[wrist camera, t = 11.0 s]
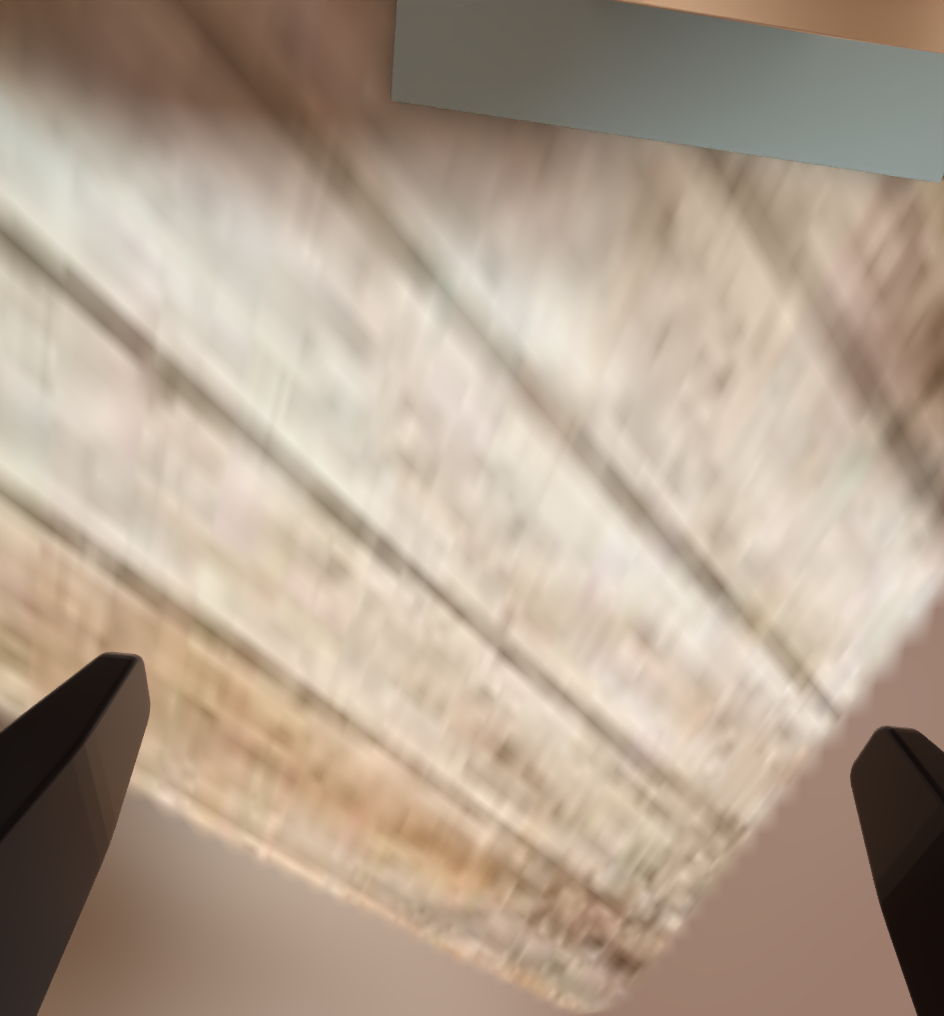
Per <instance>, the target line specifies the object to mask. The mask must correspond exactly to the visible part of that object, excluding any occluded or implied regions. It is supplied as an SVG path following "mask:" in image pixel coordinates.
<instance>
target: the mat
mask: <svg viewBox="0 0 944 1016" xmlns="http://www.w3.org/2000/svg"><path fill="white" fill-rule="evenodd" d="M391 101H394V102H401V103H408V104H415V105H421V106H428V107H435V108H441V109H448V110H455V111H461V112H468V113H475V114H481V115H488V116H495V117H502V118H508V119H515V120H522V121H528V122H535V123H542V124H548V125H555V126H562V127H569V128H575V129H582V130H589V131H595V132H602V133H609V134H615V135H622V136H629V137H635V138H642V139H649V140H656V141H662V142H669V143H676V144H682V145H689V146H696V147H702V148H709V149H716V150H722V151H729V152H736V153H743V154H749V155H756V156H763V157H769V158H776V159H783V160H789V161H796V162H803V163H809V164H816V165H823V166H830V167H836V168H843V169H850V170H856V171H863V172H870V173H876V174H883V175H890V176H896V177H903V178H910V179H917V180H923V181H930V182H937V183H940V182H941V180H942V178H943V175H944V54H942V53H935V52H929V51H922V50H915V49H908V48H902V47H895V46H888V45H881V44H875V43H868V42H861V41H854V40H848V39H841V38H834V37H827V36H820V35H814V34H808V33H802V32H796V31H790V30H784V29H778V28H772V27H766V26H760V25H754V24H748V23H742V22H737V21H731V20H725V19H719V18H713V17H707V16H701V15H695V14H689V13H683V12H677V11H671V10H665V9H659V8H653V7H647V6H641V5H635V4H629V3H624V2H618V1H612V0H397V9H396V25H395V40H394V56H393V72H392V87H391Z"/></svg>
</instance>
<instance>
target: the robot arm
mask: <svg viewBox="0 0 944 1016" xmlns="http://www.w3.org/2000/svg"><path fill="white" fill-rule="evenodd" d="M149 714H150V696H149V690H148V684H147V678H146V671H145V665H144V661H143V659H142V658H141V657H140V656H139V655H136V654H128V653H118V652H106V653H103V654H101V655H99V656H98V657H96V658H95V659H94V660H92V661H91V662H90V663H89V664H87V665H86V666H85V667H83V668H82V669H81V670H79V671H78V672H77V673H76V674H74V675H73V676H72V677H70V678H69V679H68V680H66V681H65V682H64V683H63V684H61V685H60V686H59V687H57V688H56V689H55V690H53V691H52V692H51V693H50V694H48V695H47V696H46V697H44V698H43V699H42V700H40V701H39V702H38V703H37V704H35V705H34V706H33V707H31V708H30V709H29V710H27V711H26V712H25V713H24V714H22V715H21V716H20V717H18V718H17V719H16V720H14V721H13V722H12V723H11V724H9V725H8V726H7V727H5V728H4V729H3V730H2V731H0V1016H37V1013H38V1011H39V1009H40V1007H41V1004H42V1002H43V1000H44V997H45V995H46V993H47V990H48V988H49V986H50V984H51V981H52V979H53V977H54V974H55V972H56V970H57V967H58V965H59V963H60V960H61V958H62V956H63V954H64V951H65V949H66V946H67V944H68V942H69V940H70V937H71V935H72V933H73V930H74V928H75V925H76V923H77V921H78V919H79V916H80V914H81V912H82V910H83V907H84V905H85V903H86V900H87V898H88V896H89V893H90V891H91V889H92V886H93V884H94V881H95V879H96V877H97V875H98V872H99V870H100V868H101V865H102V863H103V860H104V858H105V855H106V853H107V850H108V848H109V845H110V842H111V839H112V836H113V833H114V830H115V827H116V824H117V821H118V817H119V814H120V811H121V808H122V804H123V801H124V798H125V795H126V791H127V788H128V785H129V782H130V778H131V775H132V772H133V769H134V765H135V762H136V759H137V756H138V752H139V749H140V746H141V742H142V739H143V736H144V733H145V729H146V726H147V723H148V719H149ZM850 780H851V787H852V792H853V795H854V800H855V804H856V809H857V813H858V817H859V821H860V825H861V830H862V834H863V838H864V842H865V847H866V851H867V855H868V859H869V864H870V868H871V872H872V876H873V880H874V885H875V888H876V892H877V896H878V900H879V903H880V906H881V910H882V913H883V916H884V919H885V922H886V926H887V929H888V931H889V934H890V937H891V940H892V943H893V946H894V949H895V952H896V955H897V958H898V961H899V964H900V966H901V969H902V972H903V975H904V978H905V981H906V984H907V987H908V990H909V993H910V996H911V998H912V1002H913V1004H914V1007H915V1010H916V1013H917V1016H944V752H943V751H942V750H941V749H940V748H938V747H937V746H936V745H935V744H934V743H932V742H931V741H930V740H928V738H926V737H925V736H924V735H923V734H921V733H920V732H919V731H917V730H915V729H912V728H908V727H898V726H887V725H886V726H881V727H879V728H878V729H876V730H875V732H874V733H873V734H872V736H871V737H870V739H869V740H868V742H867V743H866V745H865V747H864V748H863V749H862V751H861V752H860V754H859V755H858V757H857V758H856V760H855V761H854V763H853V765H852V769H851V774H850Z"/></svg>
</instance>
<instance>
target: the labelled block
mask: <svg viewBox="0 0 944 1016" xmlns="http://www.w3.org/2000/svg"><path fill="white" fill-rule="evenodd" d="M612 1H618V2H624V3H629V4H635V5H641V6H647V7H653V8H659V9H665V10H671V11H677V12H683V13H689V14H695V15H701V16H707V17H713V18H719V19H725V20H731V21H737V22H742V23H748V24H754V25H760V26H766V27H772V28H778V29H784V30H790V31H796V32H802V33H808V34H814V35H820V36H827V37H834V38H841V39H848V40H854V41H861V42H868V43H875V44H881V45H888V46H895V47H902V48H908V49H915V50H922V51H929V52H935V53H942V54H944V0H612Z"/></svg>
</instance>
